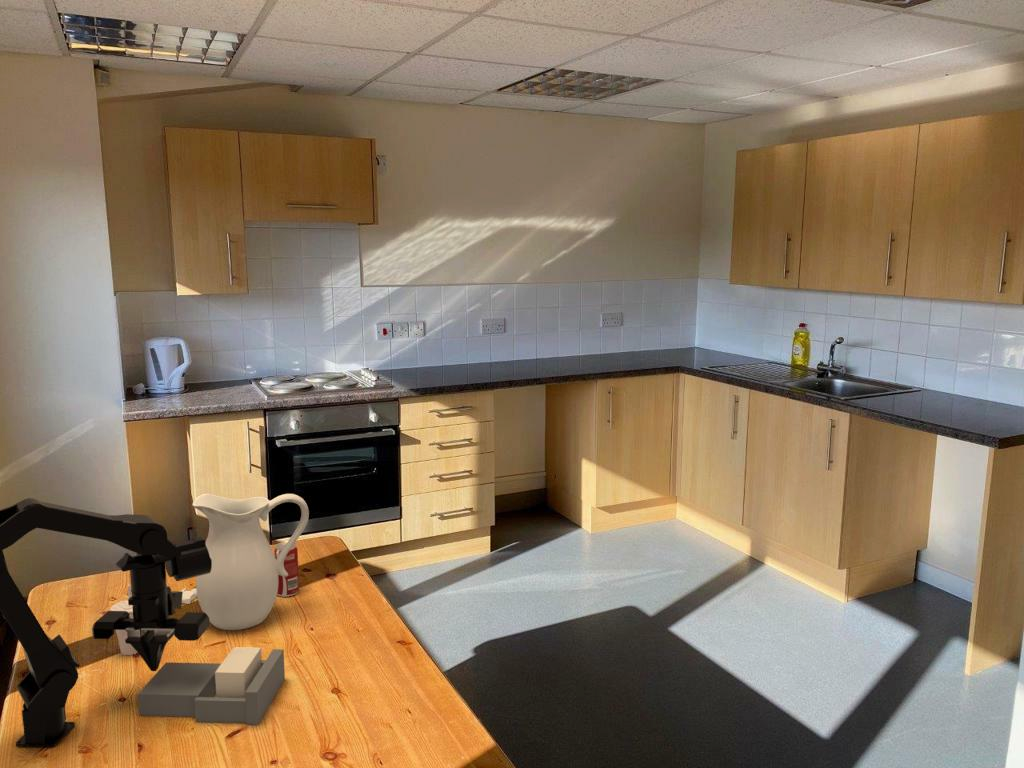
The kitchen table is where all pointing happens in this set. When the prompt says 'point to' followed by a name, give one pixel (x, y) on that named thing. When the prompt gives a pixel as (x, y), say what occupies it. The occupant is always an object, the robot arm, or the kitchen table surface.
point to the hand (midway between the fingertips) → (154, 669)
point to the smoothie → (122, 634)
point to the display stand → (210, 692)
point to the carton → (237, 672)
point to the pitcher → (241, 559)
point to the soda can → (288, 571)
